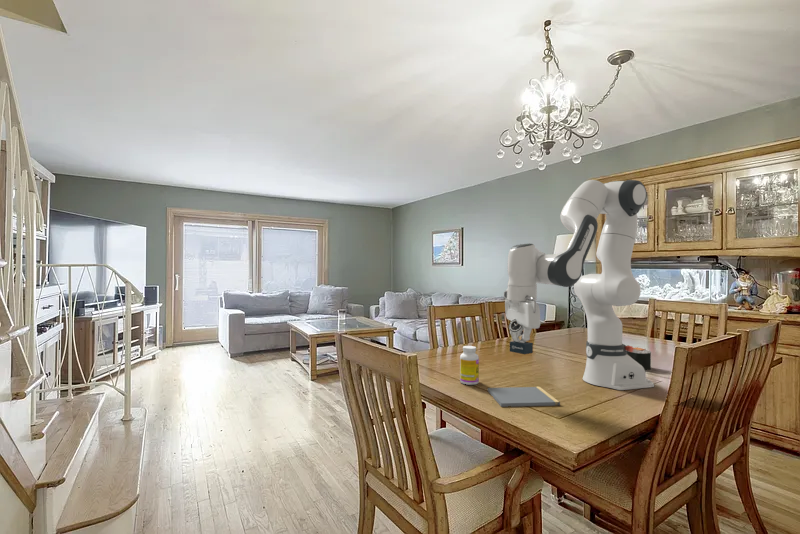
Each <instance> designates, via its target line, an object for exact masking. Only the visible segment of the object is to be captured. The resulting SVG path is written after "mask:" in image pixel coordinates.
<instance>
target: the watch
mask: <svg viewBox="0 0 800 534" xmlns="http://www.w3.org/2000/svg"><path fill="white" fill-rule="evenodd" d="M508 329H509V334H510V336H511V339H512V340H513V341H512V340H511V341H509V352H510V353H511V352H512V353H516V354H521V355H528V354H533V351H534V350H533V347H534V346H533V342H530V341H529V342H528V341H525V340H523V339H522V336H519V335H520V333H521V334H523V333H524V329H523V326H522V325H520V324H518V323H517V321H516V319H513V320H512V321H511V320H510V323H509V325H508ZM519 337H521V339H520V338H519Z"/></svg>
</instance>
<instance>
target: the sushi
mask: <svg viewBox="0 0 800 534" xmlns="http://www.w3.org/2000/svg"><path fill="white" fill-rule="evenodd" d="M633 350H634V351H633V352H629V351H627V350H626V351H627V355H629V356H630V357H631V358H632V359H634V360H635V361H636V362H638V363H639V364H640V365H642V366H643V368H644V370H645V371H650V370H652V369H651V368H652V367H651V366H652V365H651V363H652V361H651V360H652V351H651V350H649V349H647V348H643V347H639V346H638V347H633Z"/></svg>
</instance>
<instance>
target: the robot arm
mask: <svg viewBox="0 0 800 534" xmlns="http://www.w3.org/2000/svg"><path fill="white" fill-rule="evenodd" d="M647 197H648V191H647V188H646V187H645V185H644V184H643V183H642V182H641V181H640V180H637V179H627V180H618V181H617V180H615V181H609V182H605V183H603V182H601V181H600V180H596V179H588V180H585V181H584V182H582V183H581V184H580V185H579V186H578V187H577V188H576V189H575V191H573V193H572V194H571V195H570V196H569V198H568V199H567V201H566V202H565V204H564V205H563V207H562V209H561V212H560V215H559V218H560V221H561V223H562V225H563V227H564V228H565V229H567V230H568V231H569V232H570V233H572V234H573V235H572V237H571V239H570V242H569V244H568V246H567V248H566V249H565V250H564V251H562V252H560V253H557V254H556V253H553V254H551V253H550V254H548V253H547V254H546V253H545V252H542V251H541V250H539V249H538V248H537V247H536V246H535V245H534V244H533V243H522V244H521V243H520V244H516V245H513V246H512V247H510V248H509V251H508V255H507V275H508V281H507V289H506V290H504V291H503V299H504V308H505V317H506V319H507V320H508V321H510V322H511V321H512V320H513V319H516V321H517V323H518V324H520V325H522V326H523V331H524V333H523V332H521V333H520V335H519V336H518V337H522V338H521V339H523V340H525V341H526V342H528V341H529V342H530V337H531V333H532V329H540V326H541V311H540V310H541V309H540V306H539V303H538V302H537V299H538V298H537V297H538V296H537V293H538V292H537V291H538V288H537V284H543V285H554V286H558V287H559V286H560V287H563V288H569V287H572V286H573V291H574V294H575V296H576V297H577V298H578V299H579V300H580V302H581V304H582V308H583V309H584V312H585V316H586V323H587V324H586V325H587V327H586V329H587V340H586V343H585V345H586V346H585V353H586V355H585V356H586V361H585V369H584V373H583V377H582V380H583V381H584V382H585V383H588V384H591V385H594V386H599V387H602V388H603V387H604V388H610V389H614V390H617V391H624V390H625V391H626V390H637V389H646V388H654V387H655V385H654V382H653V381H651V380H650V379H648V378H647V375H646V370H644V368H643V366H642V365H640V364H639V363H638V362H636V361H635V360H634V359H632V358H631V357H630V356H629V355H627V351H629V352H633V351H634V350H633V348H634V347H633V346H632V345H625V344H624V343H623V321H622V320H621V318H619V317H618V316H617V314H616V313H615V310H614V308H613V307H614V306H615V307H625V306H630V305H635V303H636V302H638V300H639V299H640V297H641V292H642V289H641V284H640V283H639V282H638V281H637V279H636V278H635V276H634V274H633V272H632V271H633V270H632V264H631V263H632V256H633V251H634V246H635V241H636V237H637V233H638V232H637V231H638V215H637V214H639V212H640V210H641V209H642V207H643V206H644V205H645V202H646V200H647ZM599 215H605V218H606V219H605V221H604V224H603V225H602V228H601V229H602V230H601V233H600V237H599V241H598V244H597V248H596V253H595V254H596V255H595V256H596V257H597V258H596V259H598V260H599V261H600V264H601V273H589V274H583V268H584V264H585V261H586V259H587V256H588V254H589V252H590V249H591V247H592V244H593V242H594V240H595V238H596V235H597V231H598V225H599V224H598V221H597V219H598V217H599ZM582 274H583V275H582ZM626 350H627V351H626Z"/></svg>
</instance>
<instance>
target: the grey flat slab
mask: <svg viewBox="0 0 800 534" xmlns="http://www.w3.org/2000/svg"><path fill="white" fill-rule="evenodd" d="M487 392H488V394H490V395H491V397H492V396H493V397H492V398H493V399H494V401H496V403H498V405H499V406H500V407H502V408H503V407H504V408H505V407H508V406H511V407H546V406H553V407H555V406H561V402H560V401H559V400H558V399H557V398H555V397H554V396H553V395H552V394H550V393H549V392H547V391H546V390H545V389H543V388H542V387H541V386H524V387H523V386H518V387H516V386H515V387H513V386H512V387H511V386H510V387H487Z"/></svg>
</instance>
